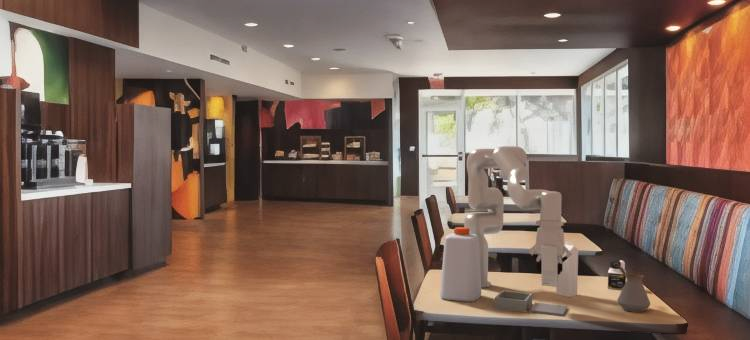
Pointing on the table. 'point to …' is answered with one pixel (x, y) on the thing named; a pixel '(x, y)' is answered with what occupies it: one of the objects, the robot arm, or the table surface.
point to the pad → (548, 309)
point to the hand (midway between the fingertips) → (549, 272)
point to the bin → (513, 301)
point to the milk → (568, 273)
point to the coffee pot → (633, 293)
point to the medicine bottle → (616, 275)
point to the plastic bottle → (461, 267)
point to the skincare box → (550, 266)
